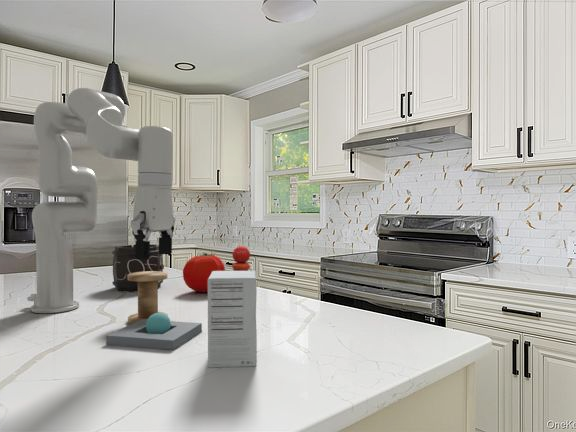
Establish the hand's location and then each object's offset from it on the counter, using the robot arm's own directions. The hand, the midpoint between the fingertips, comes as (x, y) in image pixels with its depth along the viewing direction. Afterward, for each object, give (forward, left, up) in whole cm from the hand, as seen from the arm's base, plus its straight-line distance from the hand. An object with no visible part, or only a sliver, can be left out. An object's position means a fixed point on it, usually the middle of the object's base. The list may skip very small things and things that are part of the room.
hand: (154, 256), depth 99 cm
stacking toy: (+11, +29, -19) cm, 36 cm away
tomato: (-11, +53, -19) cm, 57 cm away
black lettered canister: (-38, +55, -19) cm, 70 cm away
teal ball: (+1, 0, -19) cm, 18 cm away
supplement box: (+23, -9, -19) cm, 31 cm away
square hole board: (+1, 0, -19) cm, 19 cm away
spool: (-9, +13, -19) cm, 25 cm away
